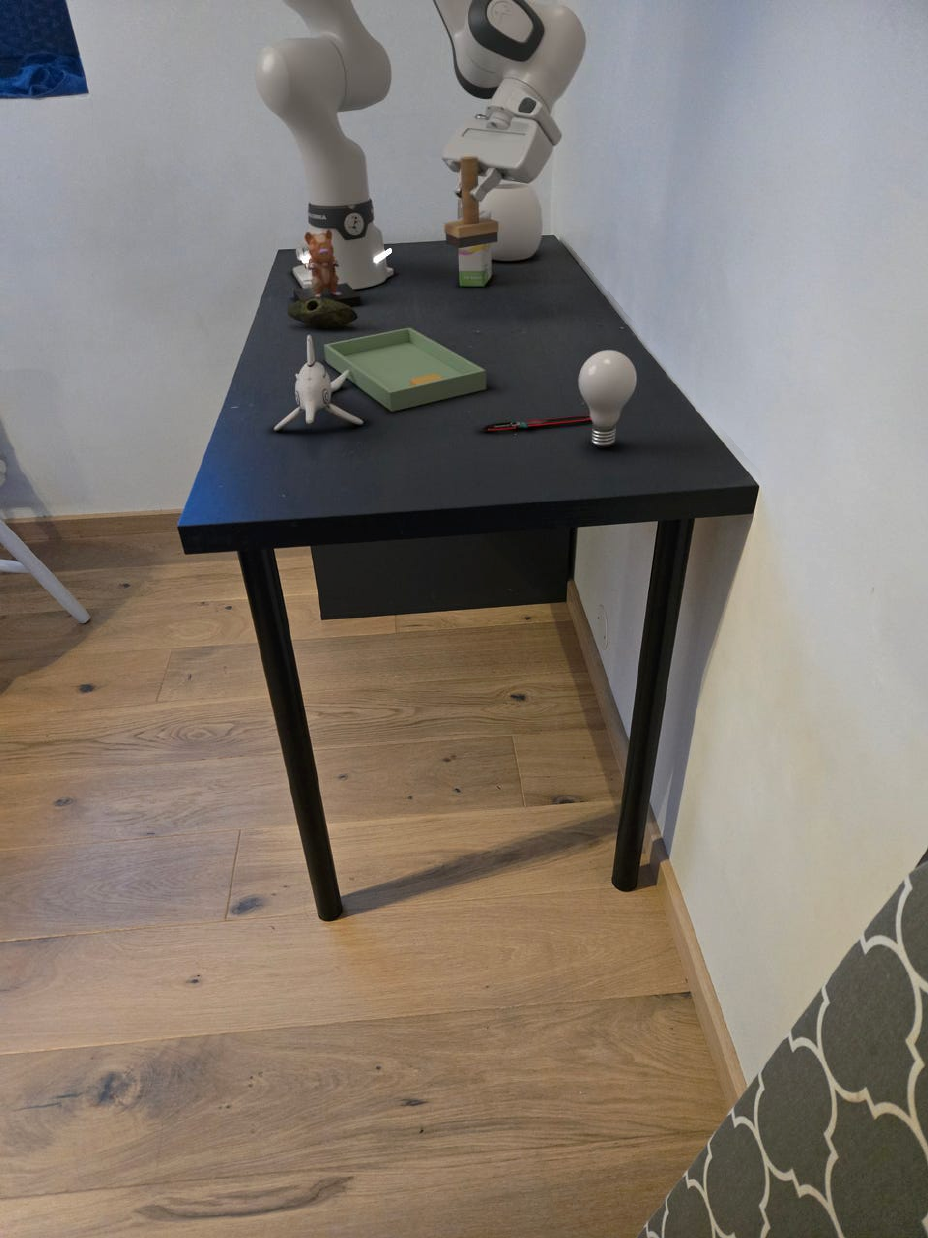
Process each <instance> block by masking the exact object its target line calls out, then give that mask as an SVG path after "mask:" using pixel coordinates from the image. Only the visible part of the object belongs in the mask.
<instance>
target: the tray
mask: <svg viewBox="0 0 928 1238" xmlns="http://www.w3.org/2000/svg"><path fill="white" fill-rule="evenodd" d="M323 350H324V357H325V363H326V364H328V365H329V366H331V367H332V368H333V369H334V370H336V371H337V372H339V374H341V375H342V374H343V373H344V372H345V371H347V370H349V373H348V376H347V377H346V379H348V380H349V381H350V382H352V383H353V384H354V385H355V386H356V387H358V388H359V389H361V390H362V391H363V392H365V393H366V394H367V395H369V396H370V397H372V398H373V399H374V400H376V401H377V402H378V403H379V404H381V405H382V406H383V407H385V408H386V409H387V410H389V411H390V412H391V413H392V412H397V411H400V410H405V409H409V408H414V407H418V406H421V405H425V404H430V403H434V402H438V401H442V400H446V399H447V400H448V399H451V398H455V397H459V396H463V395H467V394H472V393H475V392H479V391H484V390H486V389H487V370H486V369H484V368H483V367H480V366H479V365H477V364H475V362H472V361H470V360H469V359H467V358H465V357H463V356H461V355H459V354H458V353H456V352H454V351H452V350H451V349H448V348H447V347H445V346H444V345H441V344H440V343H438V342H437V341H435V340H434V339H431V338H429V337H428V336H426V335H424V334H422V333H421V332H418V331H417V330H415V329H414V328H412V327H405V328H401V329H394V330H390V331H385V332H381V333H376V334H375V333H374V334H370V335H366V336H365V335H364V336H360V337H356V338H351V339H345V340H339V341H336V342H331V343H326V344H323ZM431 374H437V375H439V376H440V377H442V378H443V379H439V380H435V381H431V382H426V383H422V384H418V385H413V386H410V379H414V378H418V377H422V376H427V375H431Z"/></svg>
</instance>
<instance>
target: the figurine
mask: <svg viewBox="0 0 928 1238" xmlns="http://www.w3.org/2000/svg"><path fill="white" fill-rule="evenodd" d="M303 238H305V240H306V242H307V243H308V245H309V246H310V248H309V253H310V255H311V256H312V257H311V258H309V259H308V270H309V271H310V270H311V269H312V276H313V278H312V279H311V283H312V284H313V288H305V289H303V288H298V289H293V290H292V292H293V299H294V300H295V302H297V301H300V300H303V299H306V298H309V297H313V296H319V297H324V298H328V299H332V300H335V301H338V302H341V303H344V304H346V305H348V306H349V307H351V308H352V307H357V306H361V296H360V295H359V294H358V293H357V292H356V291H355V289H352V288H351V287H350V286H349V285H348V284H347V283H344V284H337V283H338V280H339V278H338V276H337V275H336V269H335V266H337V267H338V266H339V265H338V264H339V262H338V261H337V260H335V257H334V256H333V254H334V249H333V246H332V244H331V239H332V233H331V231H330V230H327V231H326V233H319V234H313V235H312V234H311V233H310V232H307V231H306V232H305V235H304V236H303Z"/></svg>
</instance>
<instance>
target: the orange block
mask: <svg viewBox="0 0 928 1238" xmlns="http://www.w3.org/2000/svg"><path fill="white" fill-rule="evenodd" d="M439 379H443V378H442V377H440V376H439V375H437V374H431V375H427V376H422V377H418V378H414V379H410V386H413V385H418V384H422V383H426V382H431V381H435V380H439Z"/></svg>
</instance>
